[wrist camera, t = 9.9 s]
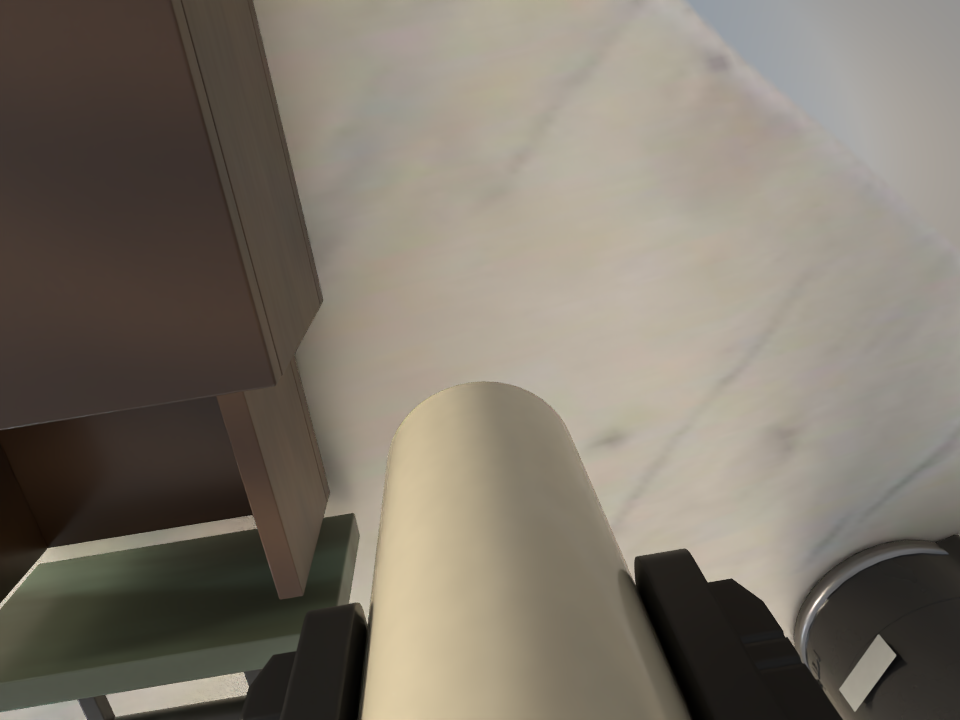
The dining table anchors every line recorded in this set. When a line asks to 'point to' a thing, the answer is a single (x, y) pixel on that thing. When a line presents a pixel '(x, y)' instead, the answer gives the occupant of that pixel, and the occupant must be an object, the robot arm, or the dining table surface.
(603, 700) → the pepper mill
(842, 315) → the dining table surface
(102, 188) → the cabinet
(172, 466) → the drawer
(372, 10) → the dining table surface
